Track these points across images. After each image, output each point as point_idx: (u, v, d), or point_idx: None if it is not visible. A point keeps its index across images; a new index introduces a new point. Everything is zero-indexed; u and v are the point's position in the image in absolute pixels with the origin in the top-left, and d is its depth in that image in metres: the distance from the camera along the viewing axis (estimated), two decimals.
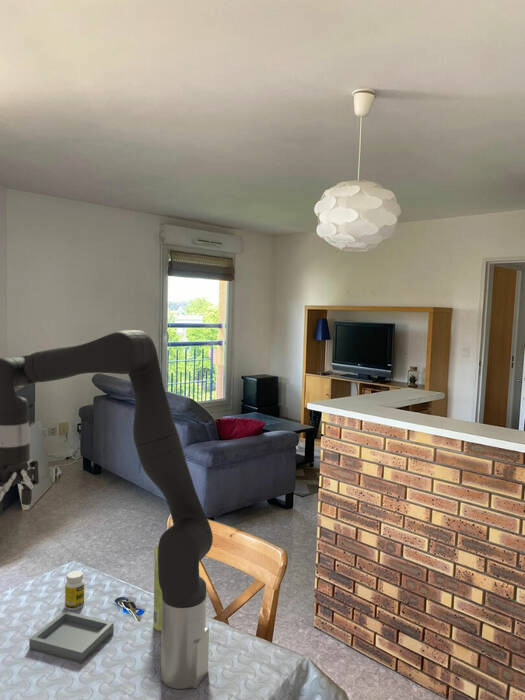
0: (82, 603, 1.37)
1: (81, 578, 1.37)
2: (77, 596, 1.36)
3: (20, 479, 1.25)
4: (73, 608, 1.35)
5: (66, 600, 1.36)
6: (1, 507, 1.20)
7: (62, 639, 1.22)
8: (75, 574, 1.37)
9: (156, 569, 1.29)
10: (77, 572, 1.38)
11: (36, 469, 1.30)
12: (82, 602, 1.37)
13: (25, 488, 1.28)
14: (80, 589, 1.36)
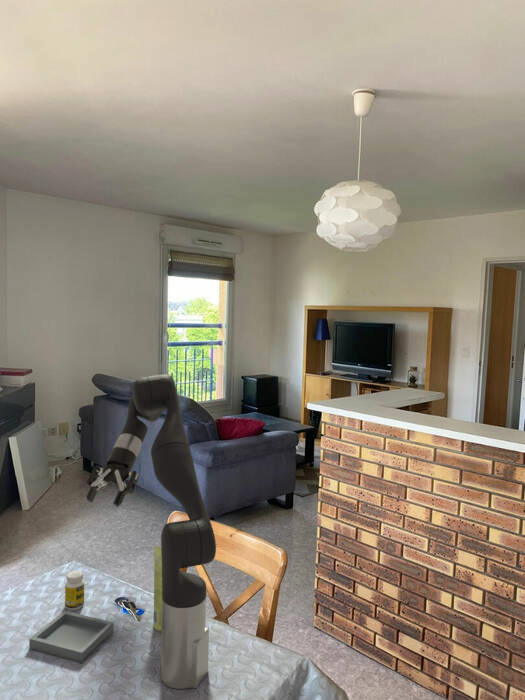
0: (82, 603, 1.37)
1: (81, 578, 1.37)
2: (77, 596, 1.36)
3: (115, 479, 1.51)
4: (73, 608, 1.35)
5: (66, 600, 1.36)
6: (91, 492, 1.50)
7: (62, 639, 1.22)
8: (75, 574, 1.37)
9: (156, 569, 1.29)
10: (77, 571, 1.38)
11: (132, 478, 1.50)
12: (82, 602, 1.37)
13: None
14: (80, 589, 1.36)
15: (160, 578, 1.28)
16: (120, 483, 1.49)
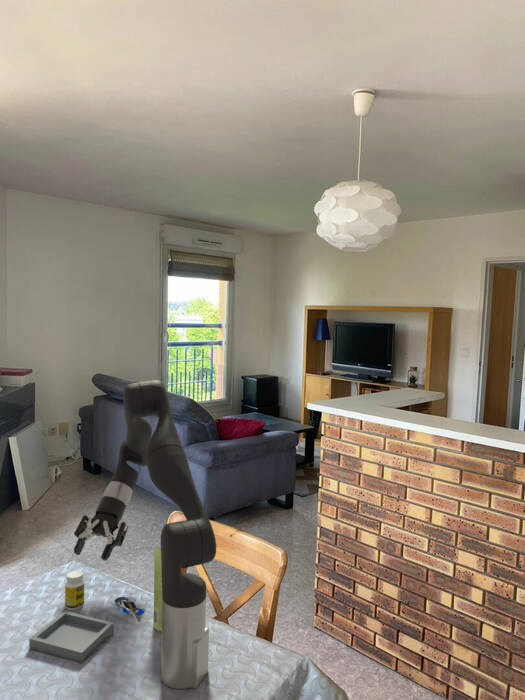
0: (82, 603, 1.37)
1: (81, 578, 1.37)
2: (77, 596, 1.36)
3: (103, 530, 1.46)
4: (73, 608, 1.35)
5: (66, 600, 1.36)
6: (78, 544, 1.45)
7: (62, 639, 1.22)
8: (75, 574, 1.37)
9: (156, 569, 1.29)
10: (77, 572, 1.38)
11: (121, 529, 1.45)
12: (82, 602, 1.37)
13: None
14: (80, 589, 1.36)
15: (160, 578, 1.28)
16: (108, 535, 1.44)
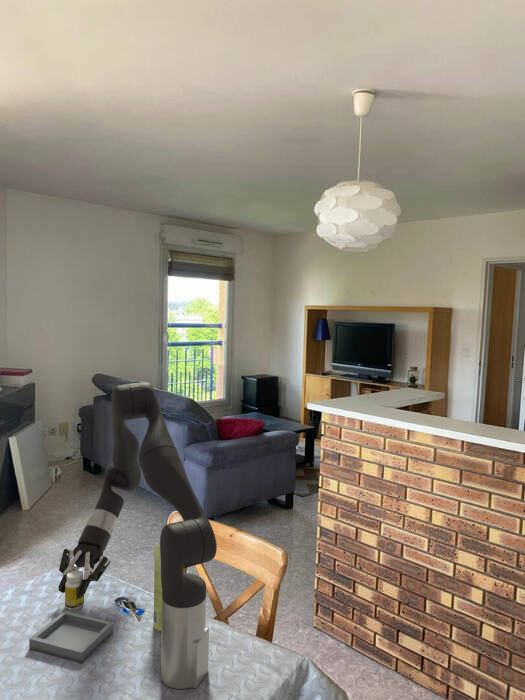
0: (82, 603, 1.37)
1: (81, 578, 1.37)
2: None
3: (84, 561, 1.40)
4: (73, 608, 1.35)
5: (66, 600, 1.36)
6: (63, 581, 1.37)
7: (62, 639, 1.22)
8: (75, 574, 1.37)
9: (156, 569, 1.29)
10: (77, 571, 1.38)
11: (100, 565, 1.38)
12: (82, 602, 1.37)
13: None
14: None
15: (160, 578, 1.28)
16: (86, 569, 1.38)
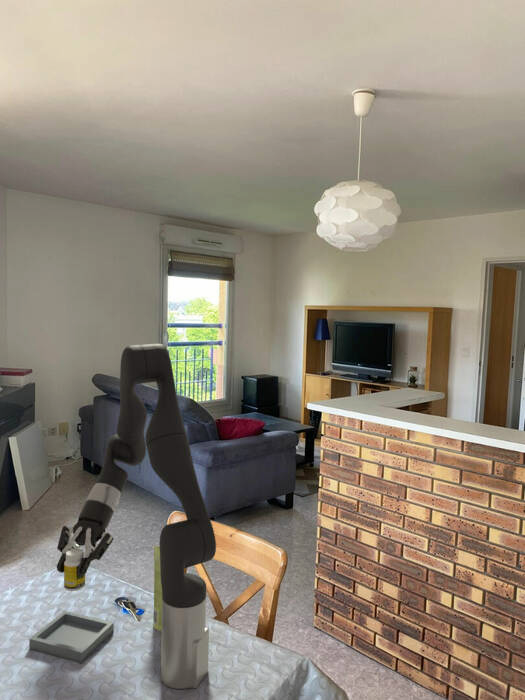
0: (83, 584, 1.25)
1: (81, 556, 1.25)
2: (77, 575, 1.24)
3: (85, 538, 1.28)
4: (73, 589, 1.23)
5: (65, 581, 1.24)
6: (62, 560, 1.25)
7: (62, 639, 1.22)
8: (75, 552, 1.25)
9: (156, 569, 1.29)
10: (77, 549, 1.26)
11: (102, 542, 1.26)
12: (83, 583, 1.25)
13: None
14: None
15: (160, 578, 1.28)
16: (87, 547, 1.26)
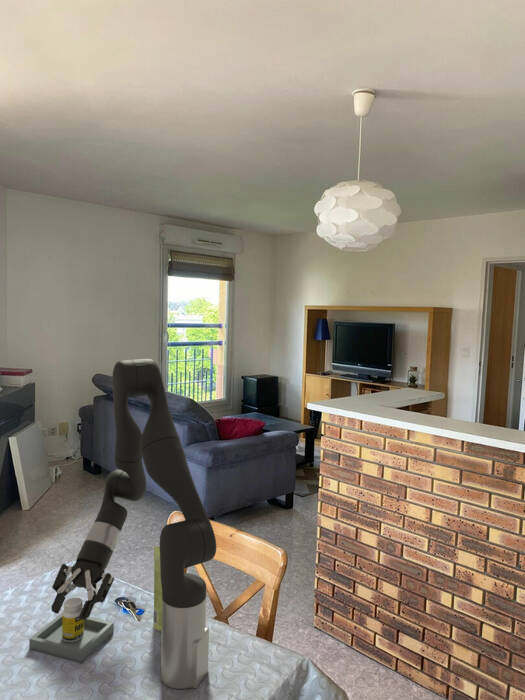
0: (81, 634, 1.23)
1: (80, 607, 1.22)
2: (76, 627, 1.21)
3: (84, 582, 1.25)
4: (71, 640, 1.21)
5: (63, 632, 1.21)
6: (57, 601, 1.23)
7: (62, 639, 1.22)
8: (73, 602, 1.23)
9: (156, 569, 1.29)
10: (75, 599, 1.24)
11: (104, 583, 1.23)
12: (81, 634, 1.23)
13: None
14: (79, 619, 1.22)
15: (160, 578, 1.28)
16: (89, 589, 1.23)
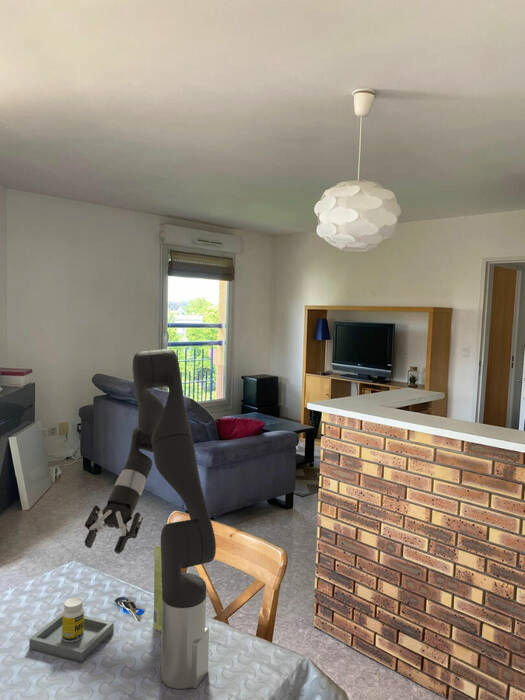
0: (81, 634, 1.23)
1: (80, 607, 1.22)
2: (76, 626, 1.21)
3: (116, 521, 1.36)
4: (71, 640, 1.21)
5: (63, 632, 1.21)
6: (89, 536, 1.35)
7: (62, 639, 1.22)
8: (73, 602, 1.23)
9: (156, 569, 1.29)
10: (75, 599, 1.24)
11: (135, 520, 1.35)
12: (81, 634, 1.23)
13: None
14: (79, 619, 1.22)
15: (160, 578, 1.28)
16: (122, 527, 1.34)
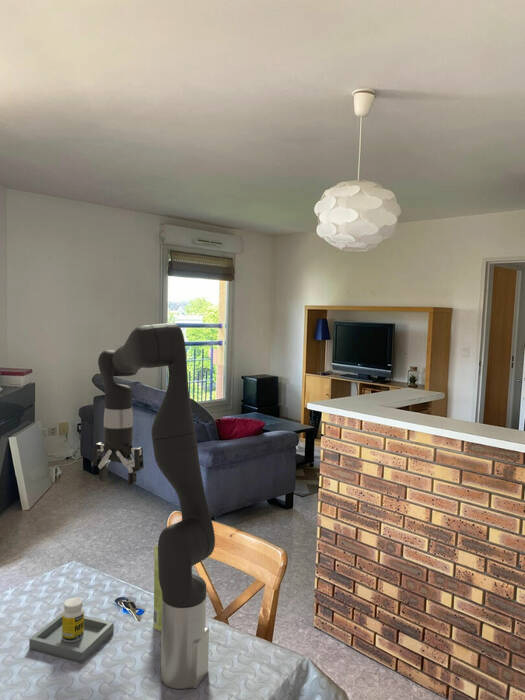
0: (81, 634, 1.23)
1: (80, 607, 1.22)
2: (76, 626, 1.21)
3: (120, 459, 1.41)
4: (71, 640, 1.21)
5: (63, 632, 1.21)
6: (101, 474, 1.43)
7: (62, 639, 1.22)
8: (73, 602, 1.23)
9: (156, 569, 1.29)
10: (75, 599, 1.24)
11: (136, 457, 1.40)
12: (81, 634, 1.23)
13: None
14: (79, 619, 1.22)
15: None
16: (127, 465, 1.40)
